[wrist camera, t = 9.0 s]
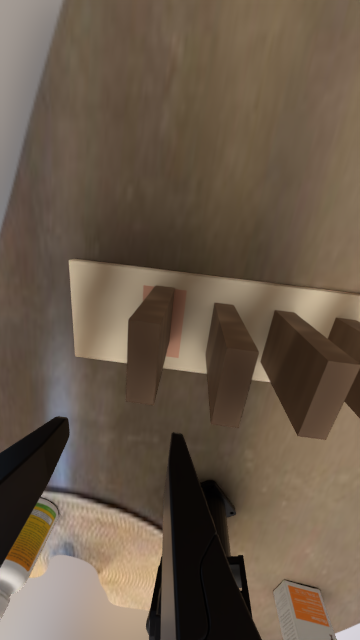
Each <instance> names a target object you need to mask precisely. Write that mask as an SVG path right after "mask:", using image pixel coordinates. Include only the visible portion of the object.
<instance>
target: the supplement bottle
mask: <svg viewBox="0 0 360 640" xmlns="http://www.w3.org/2000/svg"><path fill="white" fill-rule="evenodd" d="M57 518H58V510H57V508H56V507H55V506H54V505H53V504H52V503H51V502H49V501H47V500H45V499H41V498H40V499H39V500H38V502H37V504H36V506H35V507H34V509H33V511H32V513H31V514H30V516H29V518H28V520H27V522H26V523H25V525H24V527H23V529H22V530H21V532H20V534H19V536H18V538H17V539H16V541H15V543H14V545H13V546H12V548H11V550H10V552H9V553H8V555H7V557H6V559H5V561H4V562H3V564H2V566H1V568H0V620H1V618H2V616H3V614H4V612H5V610H6V608H7V606H8V603H9V601H10V598H9V597H10V595H11V594H14V593H16V592H18V591H19V590H20V589H21V588H22V587H23V586H24V585H25V583H26V581H27V579H28V578H29V576H30V573H31V571H32V569H33V567H34V565H35V563H36V561H37V559H38V557H39V555H40V553H41V551H42V549H43V547H44V545H45V543H46V541H47V539H48V537H49V535H50V533H51V531H52V529H53V526H54V524H55V522H56V520H57Z"/></svg>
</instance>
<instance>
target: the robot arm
mask: <svg viewBox="0 0 360 640" xmlns="http://www.w3.org/2000/svg"><path fill="white" fill-rule="evenodd" d="M68 438H69V422H68V418H66V417H60V416H58V417H55V418H53V419H52V420H50V421H49V422H47V423H46V424H44V425H43V426H41V427H39V428H38V429H36V430H35V431H33V432H32V433H30V434H29V435H27V436H26V437H24V438H23V439H21V440H20V441H18V442H16V443H15V444H13V445H12V446H10V447H9V448H7V449H6V450H4V451H3V452H1V453H0V568H1V566H2V564H3V562H4V561H5V559H6V557H7V555H8V553H9V552H10V550H11V548H12V546H13V545H14V543H15V541H16V539H17V538H18V536H19V534H20V532H21V530H22V529H23V527H24V525H25V523H26V522H27V520H28V518H29V516H30V514H31V513H32V511H33V509H34V507H35V506H36V504H37V502H38V500H39V499H40V497H41V495H42V493H43V491H44V490H45V488H46V486H47V484H48V482H49V480H50V478H51V476H52V474H53V472H54V470H55V467H56V465H57V463H58V461H59V458H60V456H61V454H62V452H63V450H64V447H65V445H66V443H67V441H68ZM235 514H236V510H235V508H234V507H233V505H232V504H231V503H230V501H229V500H228V499H227V497H226V496H225V495H224V493H223V492H222V491H221V489H220V488H219V487H218V485H217V484H216V483H215V482H214V481H209V482H206V483H203V484H200V482H199V479H198V477H197V474H196V471H195V468H194V465H193V462H192V460H191V457H190V454H189V451H188V448H187V445H186V442H185V440H184V437H183V435H182V434H181V433H175V432H173V433H172V435H171V442H170V450H169V458H168V466H167V474H166V482H165V491H164V504H163V548H162V557H161V561H160V565H159V567H158V572H157V577H156V582H155V587H154V593H153V598H152V603H151V608H150V611H149V615H148V618H147V623H146V629H147V632H148V634H149V640H262V639H261V637H260V635H259V632H258V630H257V628H256V626H255V624H254V621H253V619H252V613H251V606H250V599H249V592H248V586H247V579H246V572H245V565H244V559H243V555H238V556H231V554H230V544H229V535H228V526H227V517H230V516H234V515H235ZM239 588H242V591H240V589H239Z"/></svg>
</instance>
